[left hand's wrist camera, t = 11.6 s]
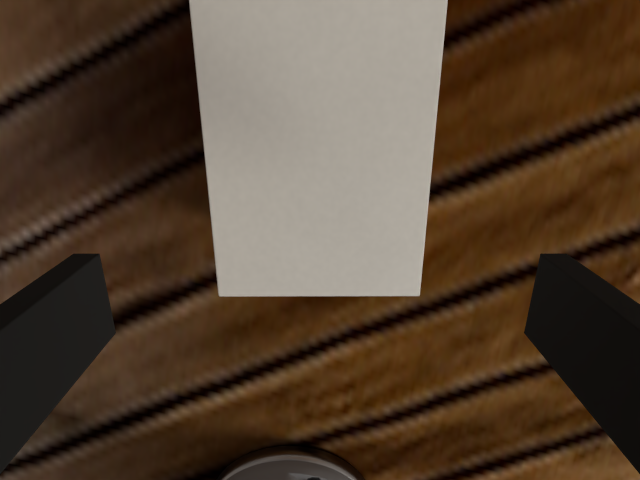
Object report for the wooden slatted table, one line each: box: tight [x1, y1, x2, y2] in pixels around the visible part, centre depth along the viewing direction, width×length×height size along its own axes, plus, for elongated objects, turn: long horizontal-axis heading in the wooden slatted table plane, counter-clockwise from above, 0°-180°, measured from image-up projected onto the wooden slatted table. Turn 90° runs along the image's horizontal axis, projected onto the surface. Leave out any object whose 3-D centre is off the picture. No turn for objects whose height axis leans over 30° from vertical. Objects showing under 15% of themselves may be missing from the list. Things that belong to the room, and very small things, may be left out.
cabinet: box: [189, 0, 448, 296], centre depth 22 cm, size 17×10×9 cm, turn 0°
